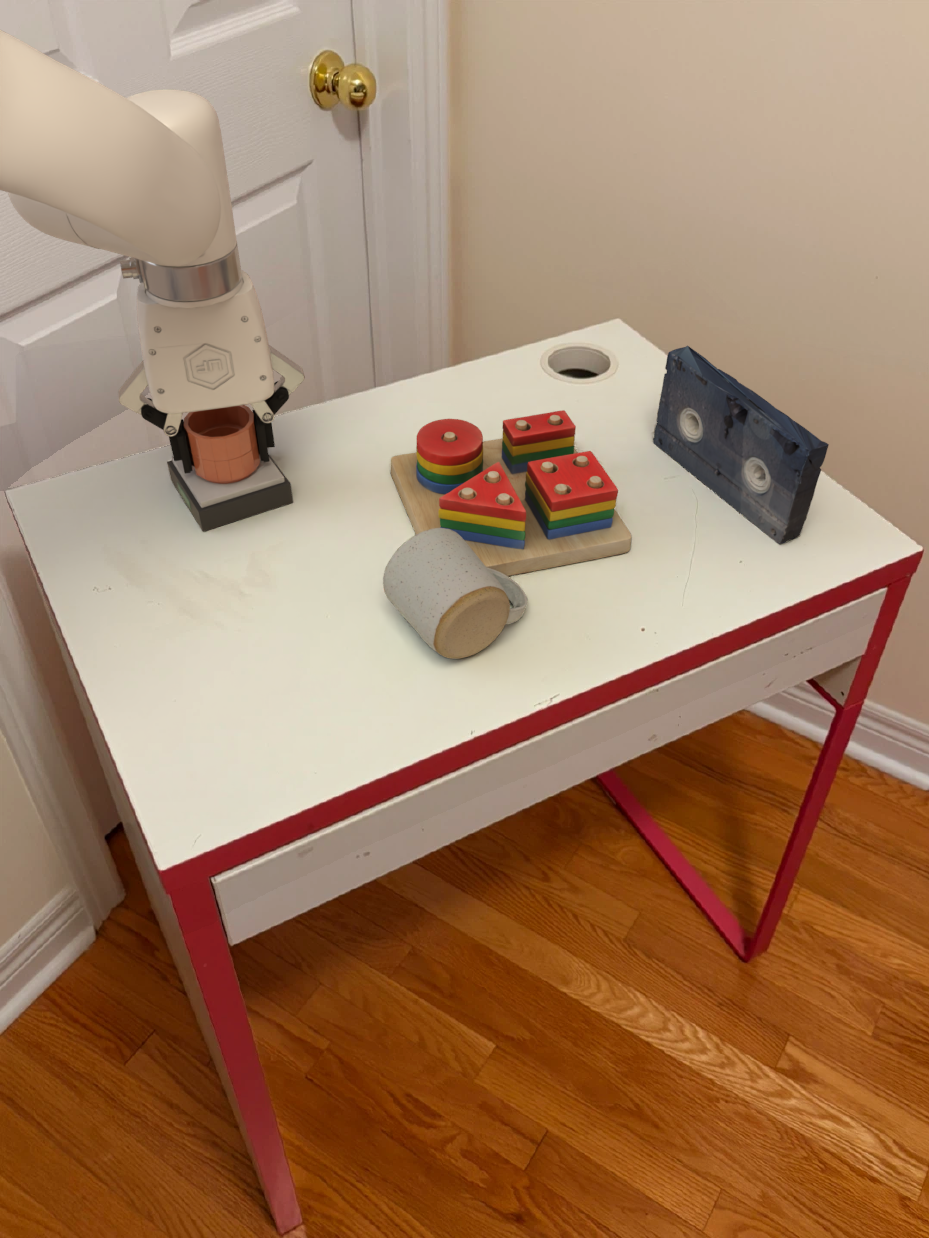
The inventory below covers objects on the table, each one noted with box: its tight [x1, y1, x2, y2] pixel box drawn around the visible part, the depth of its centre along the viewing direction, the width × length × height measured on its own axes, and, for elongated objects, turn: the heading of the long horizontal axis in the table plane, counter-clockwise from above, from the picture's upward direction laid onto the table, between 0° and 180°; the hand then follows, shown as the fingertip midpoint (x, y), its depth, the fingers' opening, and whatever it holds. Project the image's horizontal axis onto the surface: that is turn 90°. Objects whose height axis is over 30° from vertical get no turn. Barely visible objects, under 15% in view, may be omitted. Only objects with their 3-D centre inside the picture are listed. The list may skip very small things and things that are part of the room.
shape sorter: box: [389, 409, 633, 577], centre depth 93 cm, size 18×17×6 cm
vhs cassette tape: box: [652, 345, 830, 545], centre depth 94 cm, size 18×3×10 cm, turn 29°
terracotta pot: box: [183, 405, 260, 484], centre depth 93 cm, size 6×6×5 cm
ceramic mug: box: [382, 528, 528, 660], centre depth 82 cm, size 11×8×8 cm
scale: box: [166, 454, 294, 533], centre depth 95 cm, size 9×9×3 cm
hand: (225, 457), depth 94 cm, fingers closed on terracotta pot, 6 cm apart
